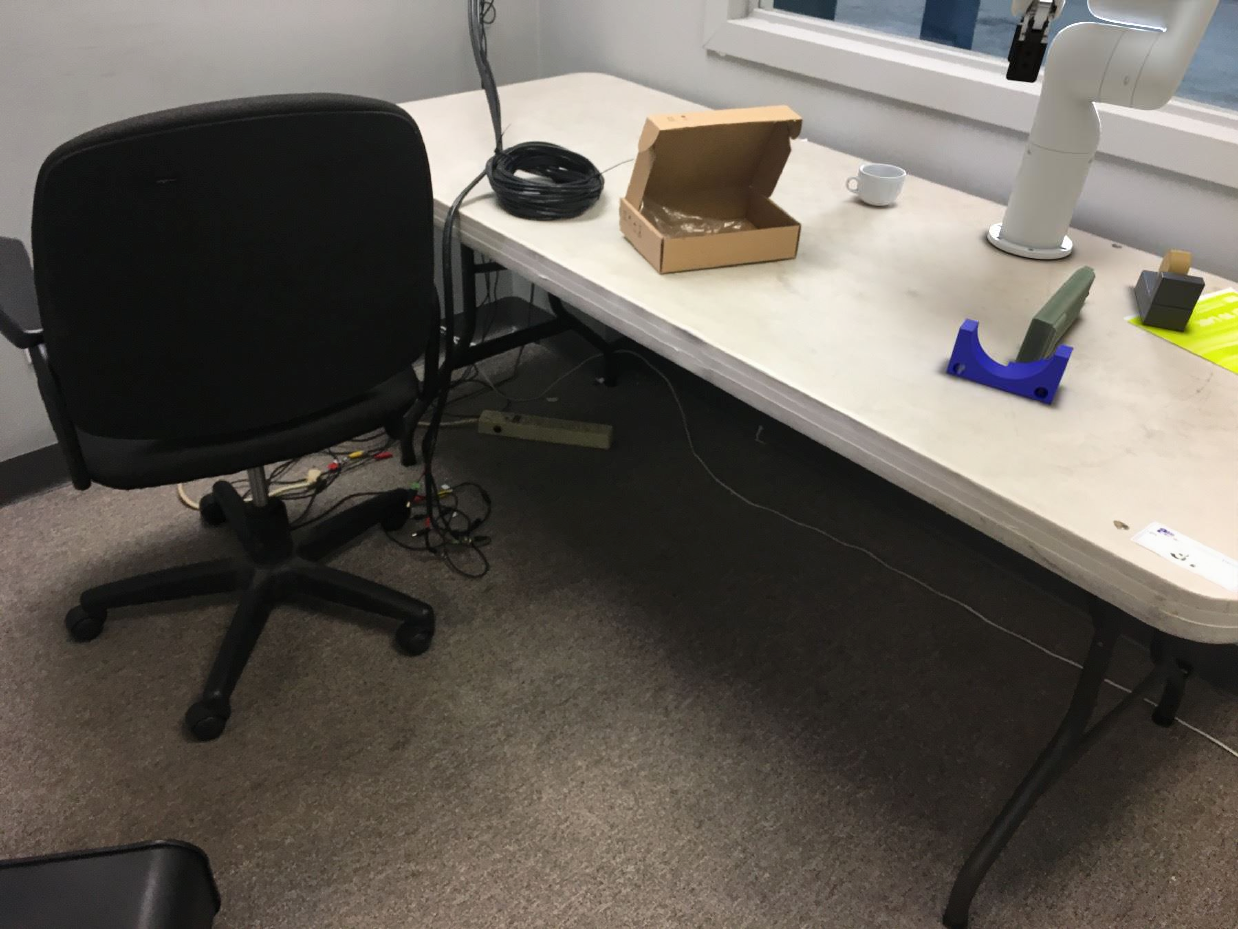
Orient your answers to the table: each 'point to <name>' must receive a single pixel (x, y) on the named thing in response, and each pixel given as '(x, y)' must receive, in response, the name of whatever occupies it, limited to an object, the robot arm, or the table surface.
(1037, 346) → the handheld radio
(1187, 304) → the tape dispenser
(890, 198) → the teacup
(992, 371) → the blue semicircular clamp bracket
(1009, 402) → the table surface
